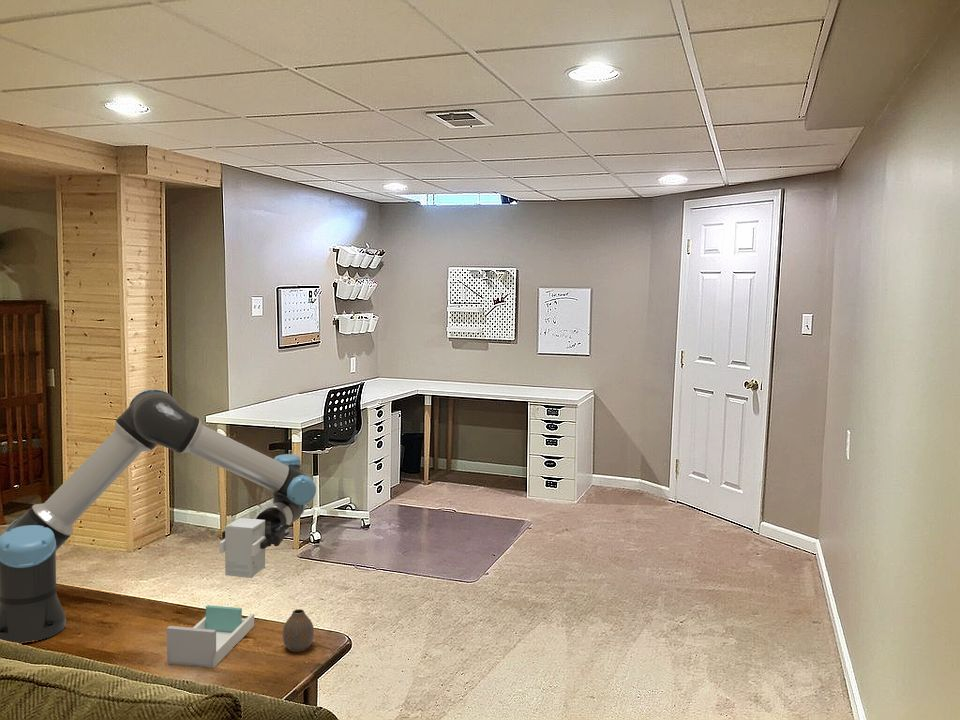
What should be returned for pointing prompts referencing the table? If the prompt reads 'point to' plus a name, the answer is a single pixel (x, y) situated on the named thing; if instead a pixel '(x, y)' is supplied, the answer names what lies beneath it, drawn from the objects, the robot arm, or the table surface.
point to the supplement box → (243, 547)
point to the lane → (203, 643)
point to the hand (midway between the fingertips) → (236, 549)
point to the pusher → (223, 618)
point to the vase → (298, 631)
